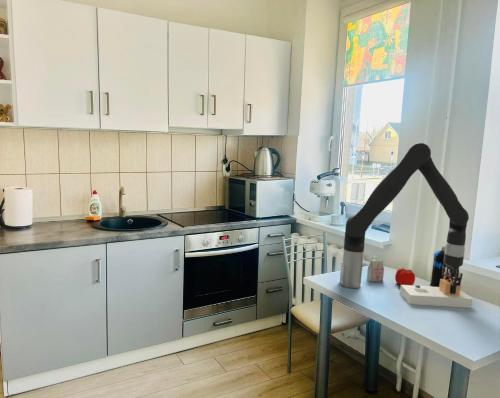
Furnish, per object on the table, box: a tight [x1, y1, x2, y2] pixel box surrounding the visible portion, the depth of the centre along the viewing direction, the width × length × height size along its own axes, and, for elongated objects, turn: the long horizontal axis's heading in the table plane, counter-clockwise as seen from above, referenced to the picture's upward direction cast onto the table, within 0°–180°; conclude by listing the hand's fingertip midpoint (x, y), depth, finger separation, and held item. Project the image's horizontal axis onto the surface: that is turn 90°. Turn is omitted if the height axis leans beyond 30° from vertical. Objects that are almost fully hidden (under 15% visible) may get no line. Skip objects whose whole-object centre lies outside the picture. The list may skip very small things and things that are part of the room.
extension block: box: [399, 284, 473, 309], centre depth 173 cm, size 26×12×5 cm, turn 88°
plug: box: [439, 277, 462, 295], centre depth 172 cm, size 6×6×9 cm
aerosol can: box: [429, 245, 446, 287], centre depth 189 cm, size 8×8×20 cm
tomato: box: [394, 267, 416, 286], centre depth 190 cm, size 9×9×8 cm
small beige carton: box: [366, 259, 385, 283], centre depth 194 cm, size 4×7×10 cm, turn 107°
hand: (449, 290), depth 172 cm, fingers closed on plug, 5 cm apart
